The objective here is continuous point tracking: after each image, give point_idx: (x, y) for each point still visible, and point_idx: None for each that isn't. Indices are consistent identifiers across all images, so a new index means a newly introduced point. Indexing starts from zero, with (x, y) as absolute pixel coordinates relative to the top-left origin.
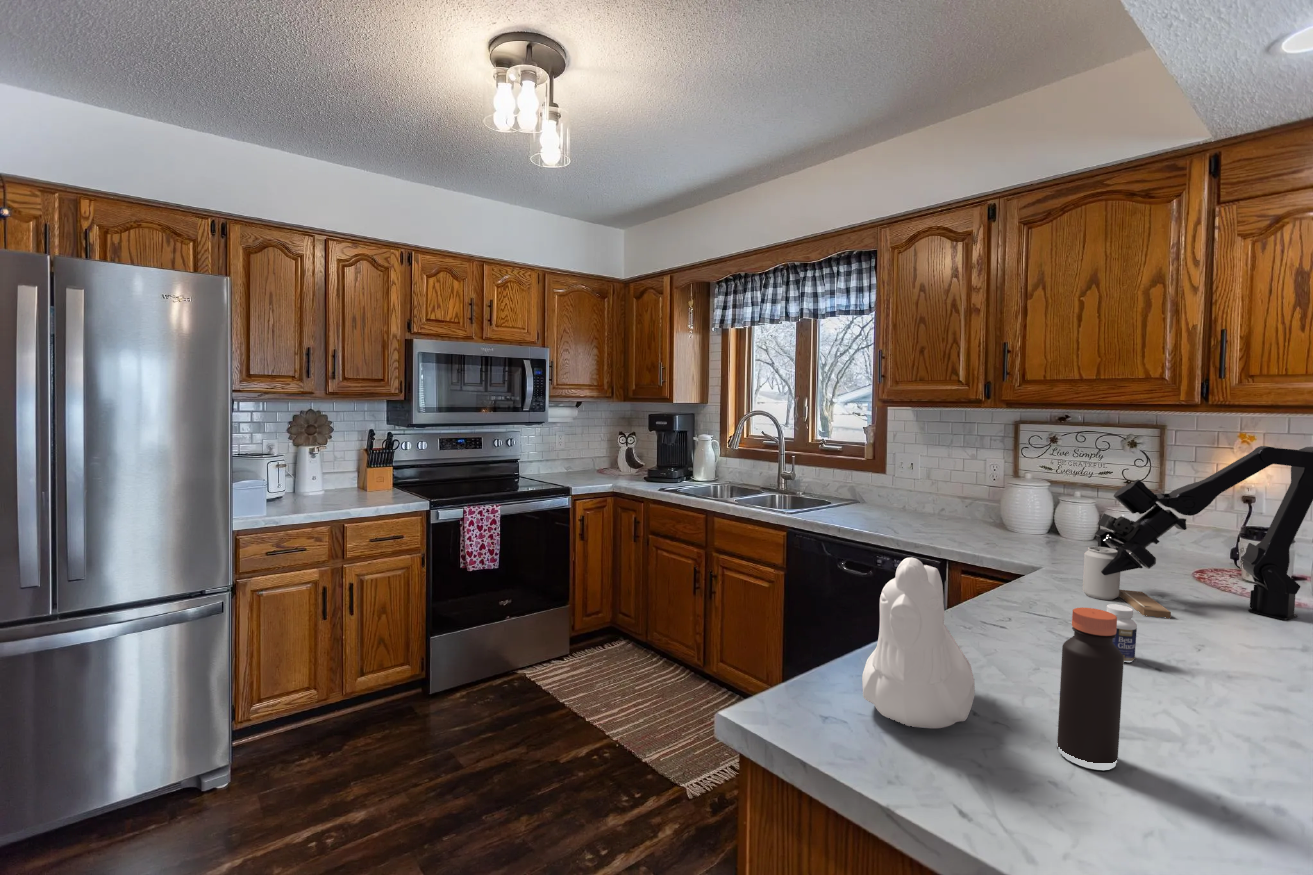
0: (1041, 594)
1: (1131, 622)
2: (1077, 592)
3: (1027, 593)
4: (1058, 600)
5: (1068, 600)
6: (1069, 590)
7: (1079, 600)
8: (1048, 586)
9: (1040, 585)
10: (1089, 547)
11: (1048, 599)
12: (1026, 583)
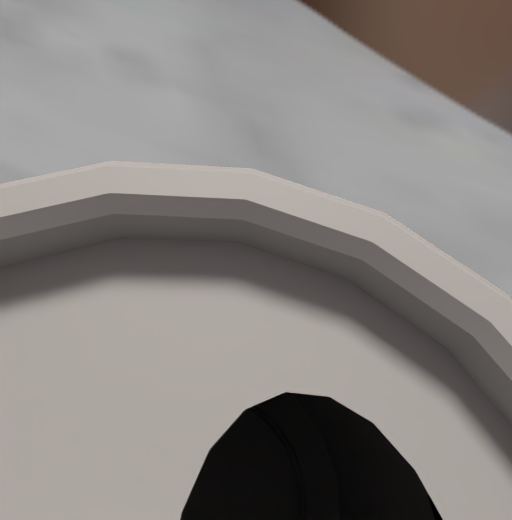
0: (146, 91)
1: None
2: None
3: (151, 27)
4: (19, 139)
5: None
6: None
7: None
8: (371, 197)
9: (377, 157)
10: (393, 259)
11: (34, 91)
12: (394, 93)
